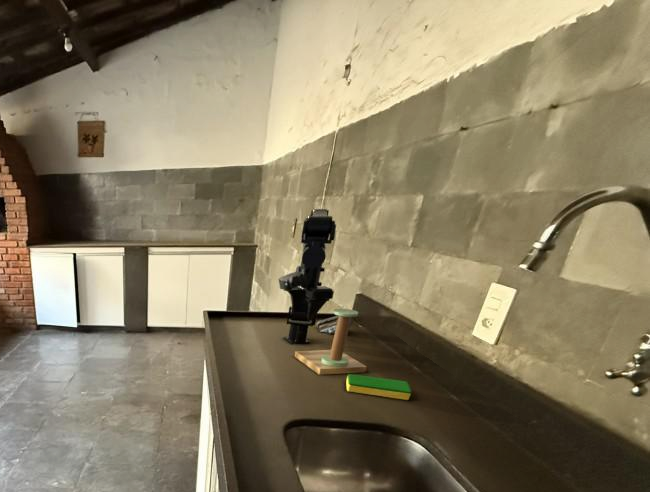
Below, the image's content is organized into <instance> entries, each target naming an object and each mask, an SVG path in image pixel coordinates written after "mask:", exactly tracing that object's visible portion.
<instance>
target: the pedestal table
mask: <svg viewBox="0 0 650 492" xmlns="http://www.w3.org/2000/svg"><path fill="white" fill-rule="evenodd" d="M333 314H334V315H335V316H337V315H338V316H339V317H338V321H337V326H336V330H335V333H334V335H333V340H332V344H331V348H330V350H331V353H330V355H325V356H323V357H322V363H324V364H326V365H329V366H333V367H345V366H347V365H348V361H349V360H348V359H347V358H345V357H342V355H343V353H344V350H345V346H346V342H347V337H348V334H349V329H350V328H349V325H350V321H351V318H355V317H358V316H359V311H357V310H354V309H350V308H336V309H334V311H333Z"/></svg>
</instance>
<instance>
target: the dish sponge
mask: <svg viewBox="0 0 650 492" xmlns="http://www.w3.org/2000/svg"><path fill="white" fill-rule="evenodd" d="M345 382H346V391H347V392H351V393H359V394H363V395H364V394H365V395H371V396H378V397H384V398H391V399H397V400H405V401H408V400H410V397H411V394H412V390H411V387H410V384H409V382H408V381H405V380H398V379H390V378H383V377H376V376H367V375H359V374H355V373H347V376H346V381H345Z"/></svg>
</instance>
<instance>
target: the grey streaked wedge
mask: <svg viewBox="0 0 650 492" xmlns="http://www.w3.org/2000/svg"><path fill="white" fill-rule="evenodd" d="M338 317H339V316H338V315H335V316H331V317H327V318H324V319H320V320H318V321H317V322H315V327H316V328H318V329H319V332H320V333H322V332H323V333H329V334H330V335H333V334H335V330H336V326H337V321H338ZM352 318H353V317H351V321H350V325H349V329H350V328H351V327H352V324H353V319H352Z"/></svg>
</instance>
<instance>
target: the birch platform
mask: <svg viewBox="0 0 650 492" xmlns="http://www.w3.org/2000/svg"><path fill="white" fill-rule="evenodd" d="M294 352H295V353H294V358H296V359H297V360H299V361H300V362H301V363H302V364H304V365H305V366H306V367H308V368H309V369H311V370H312V371H313V372H315V373H316V374H317V375H319V376H321V375H340V374H358V373H359V374H360V373H367V372H366V371H367V368H368V366H367V365H365V364H363V363H362V362H360V361H358V360H356V359H355V358H353V357H351V356H350V355H348V354H346V353H345V352H343V355H342V357H345V358H347V359H348V360H349V361H348V365H347V366H345V367H333V366H329V365H326V364H324V363H322V357H323V356H325V355H330V353H331V349H316V350H296V351H294Z"/></svg>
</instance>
